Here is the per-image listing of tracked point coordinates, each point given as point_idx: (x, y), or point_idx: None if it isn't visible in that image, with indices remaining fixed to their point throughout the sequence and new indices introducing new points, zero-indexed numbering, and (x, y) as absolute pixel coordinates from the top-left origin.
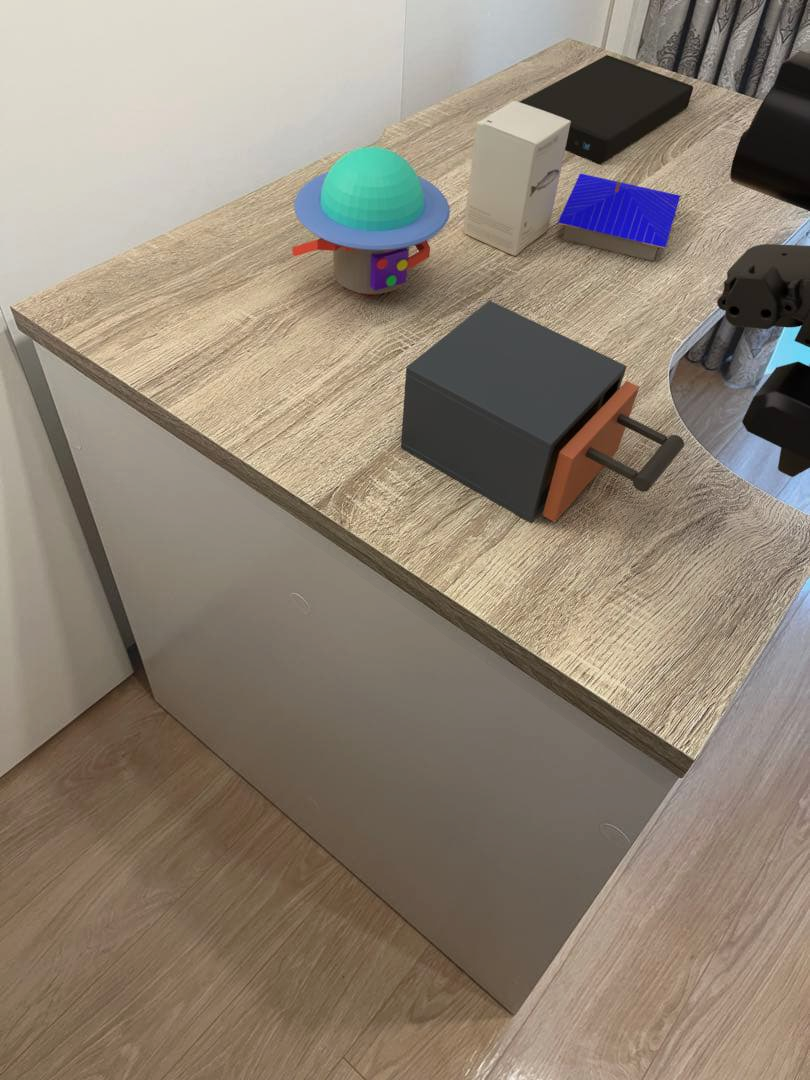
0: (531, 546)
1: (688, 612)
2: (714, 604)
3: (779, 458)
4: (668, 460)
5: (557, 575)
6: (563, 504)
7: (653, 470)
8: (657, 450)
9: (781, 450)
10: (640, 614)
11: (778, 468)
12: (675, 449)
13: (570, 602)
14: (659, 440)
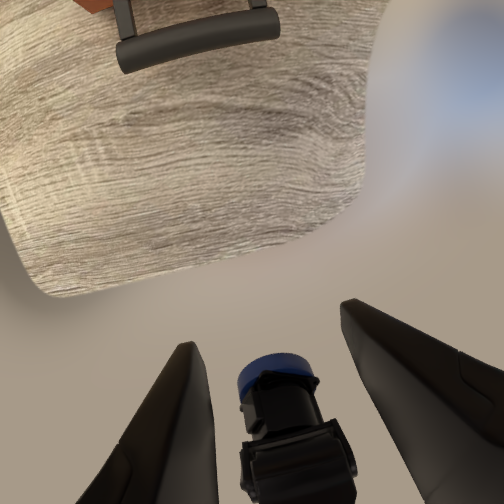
0: (58, 29)
1: (138, 202)
2: (173, 211)
3: (162, 370)
4: (206, 45)
5: (50, 79)
6: (97, 3)
7: (150, 50)
8: (215, 15)
9: (145, 399)
10: (88, 173)
11: (177, 346)
12: (243, 35)
13: (37, 118)
14: (249, 1)
